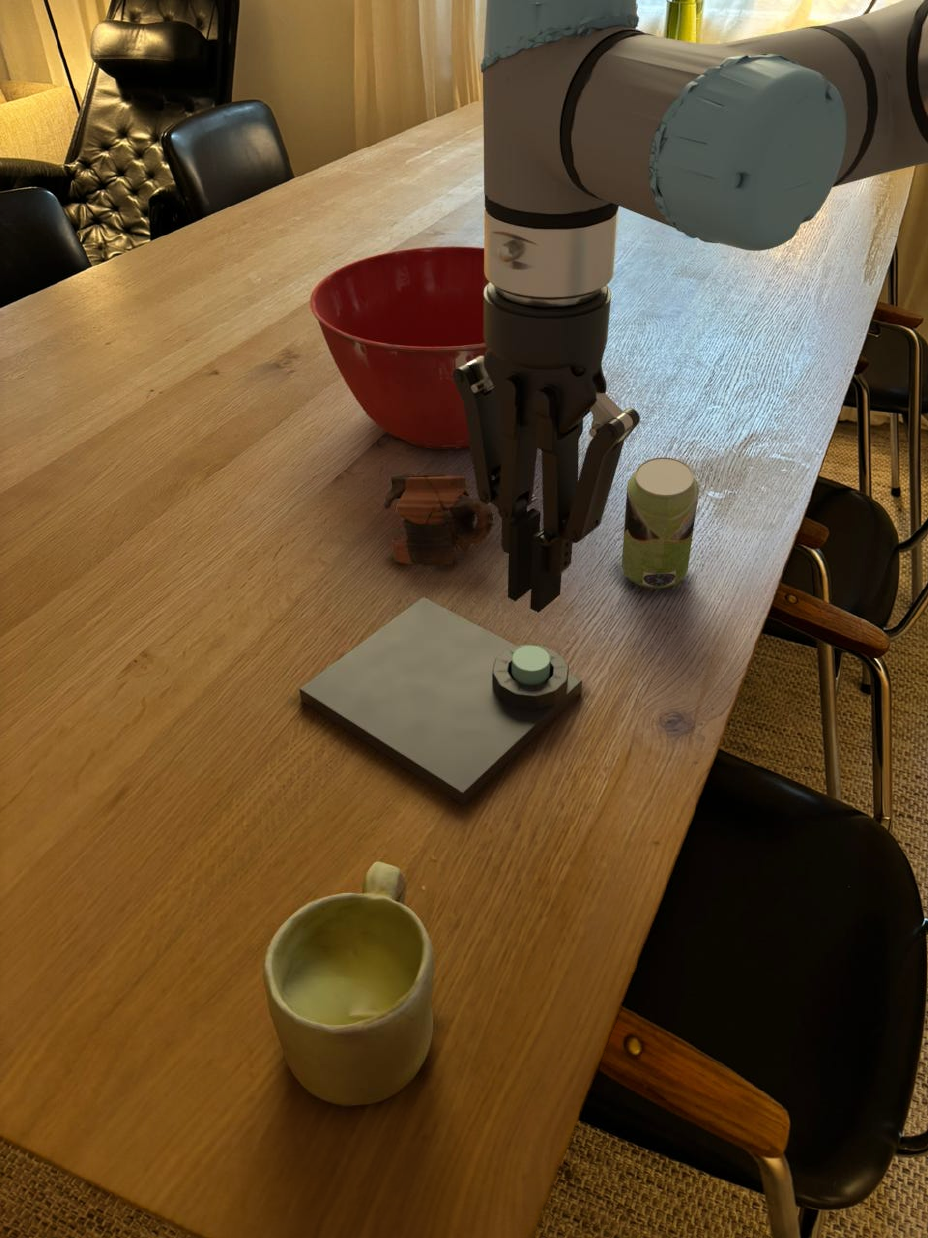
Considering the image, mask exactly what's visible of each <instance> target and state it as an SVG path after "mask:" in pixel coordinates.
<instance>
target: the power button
mask: <svg viewBox="0 0 928 1238" xmlns="http://www.w3.org/2000/svg"><path fill="white" fill-rule="evenodd" d="M549 674H550V656H549V654H548V652H547V651H545V650H544V649H542V648H540V647H537V646H524V647H521V648H519V649H517V650H516V651H515V652H514V654H513V656H512V675H513V677H514V679H515V680H516V681H518V682H519V683H521V684H525V685H538V684H541V683H543V682H545V681H546V680H547V679H548V677H549Z"/></svg>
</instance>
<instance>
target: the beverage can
mask: <svg viewBox="0 0 928 1238" xmlns="http://www.w3.org/2000/svg"><path fill="white" fill-rule="evenodd" d="M626 487H627V488H626V497H625V499H626V500H625V512H624V523H623V525H624V526H623V539H622V551H621V552H622V553H621V567H622V571H623V573H624V575H625V576H626V577H627V578H628V579H629V580H630V581H631V582H633V583H634V584H635V585H638V586H640V587H644V588H648V589H666V588H669V587H672V586H675V585H676V584H678V583H680V582H681V581H682V580H683V579H684V578H685V577H686V575H687V573H688V570H689V564H690V557H691V551H692V550H691V549H692V545H693V544H692V542H693V536H694V529H695V523H696V515H697V508H698V501H699V494H700V488H699V487H700V486H699V484H698V480H697V478H695V474H694V472H693V469H692V468H691V467H690V466H689V465H688V464H686V463H685V462H684V461H681V460H679V459H676V458H674V457H666V456H661V457H659V456H658V457H653V458H650V459H647V460H645V461H643V462H641V464H639V465H638V466H637V468H636V470H635V471H634V472H633V474H632V475H631V476H630V478H629V479H628V482H627V486H626Z"/></svg>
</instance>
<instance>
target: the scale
mask: <svg viewBox="0 0 928 1238" xmlns="http://www.w3.org/2000/svg"><path fill="white" fill-rule="evenodd" d="M524 646H537V647H540V648H542V649H544V650H545V651H547V652H548V654H549V656H550V674H549V677H548V679H547V680H546V681H545V682H543V683H541V684H538V685H525V684H521V683H519V682H518V681H516V680H515V679H514V677H513V675H512V656H513V654H514V652H515V651H516V650H517V649H519V648H521V647H524ZM569 671H570V667H569V665H568V662H566V660H565V659H564V657H563V656H562V654H560V653H559V652H557V651H555V650H553V649H551V648H549V647H547V646H544V645H536V644H529V643H526V644H525V643H523V644H519V645H516V644H514V643H513V642H511V641H508V640H507V639H505V638H503V637H501V636H499V635H497V634H495V633H493V632H491V631H489V630H487V629H486V628H485V627H482V626H480V625H478V624H476V623H474V622H472V621H470V620H469V619H467V618H465V617H463V616H461V615H459V614H457V613H455V612H454V611H452V610H450V609H448V608H446V607H444V606H442V605H440V604H438V603H436V602H434V601H432V600H431V599H429V598H427V597H425V596H423V597H421V598H419V599H418V600H417V601H416V602H414V603H413V604H412V605H410V606H409V607H408V608H406V609H404V610H403V611H402V612H401V613H400V614H398V615H397V616H395V617H394V618H392V619H391V620H390V621H388V622H386V624H384V625H382V627H380V628H379V629H378V630H377V631H374V633H373V634H371V635H370V636H368V637H367V638H365V639H364V640H363V641H362V642H359V644H357V645H356V646H355V647H354V648H352V649H350V650H349V651H348V652H346V653H345V654H344V655H343V656H341V657H340V658H338V659H337V660H335V661H334V662H333V663H331V664H330V665H329V666H327V667H326V668H325V669H324V670H322V671H321V672H319V673H318V674H316V676H314V677H313V678H311V679H310V680H309V681H307V682H306V683H304V685H302V686H301V687H299V688H298V691H299V696H300V702H302V703H303V704H305V705H307V706H308V707H310V708H311V709H313V710H314V711H316V712H318V713H319V714H321V716H324V717H325V718H327V719H328V720H329V721H331V722H333V723H334V724H336V725H338V726H339V727H340V728H343V729H344V730H345V731H347V732H348V733H350V734H351V735H353V736H355V737H356V738H358V739H359V740H361V741H362V742H364V743H365V744H366V745H369V746H370V747H372V748H373V749H375V750H376V751H378V752H379V753H380V754H382V755H384V756H385V757H387V758H389V759H390V760H391V761H393V762H395V763H397V764H398V765H399V766H401V767H403V768H404V769H405V770H407V771H408V772H410V773H412V774H413V775H415V776H416V777H418V778H419V779H420V780H423V781H424V782H426V783H427V784H429V785H430V786H431V787H433V788H435V789H437V790H438V791H439V792H441V793H443V794H444V795H446V796H447V797H449V798H450V799H452V800H454V801H455V802H456V803H458V804H460V805H461V806H464V805H465V804H467V802H469V801H470V800H471V799H472V798H473V797H474V796H475V795H476V794H477V793H478V792H480V790H481V789H483V787H485V785H487V784H488V783H489V782H490V780H492V779H493V778H494V777H495V776H496V775H497V774H498V773H499V772H500V771H501V770H503V768H504V767H505V766H506V765H507V764H509V762H510V761H512V759H514V757H516V756H517V755H518V754H519V753H520V752H521V751H522V750H523V749H524V748H525V747H526V746H527V745H528V744H530V742H531V741H533V739H535V737H536V736H538V735H539V734H540V733H541V732H542V731H543V730H544V729H545V728H546V727H547V726H548V725H549V724H550V723H551V722H552V721H553V720H554V719H556V717H557V716H558V715H559V714H560V713H562V711H564V710H565V709H566V707H568V706H569V705H570V704H571V703H572V702H573V701H574V700H575V699H576V698H578V696H580V695H581V694H582V688H583V680H582V679H581V678H579V677H577V676H575V675H574V674H571V673H570V672H569Z"/></svg>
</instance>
